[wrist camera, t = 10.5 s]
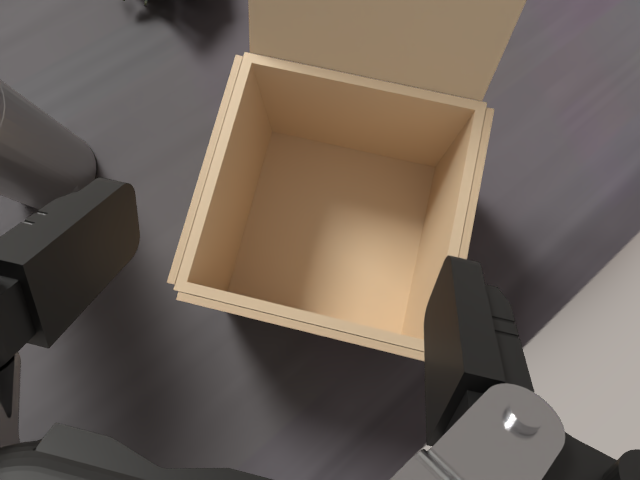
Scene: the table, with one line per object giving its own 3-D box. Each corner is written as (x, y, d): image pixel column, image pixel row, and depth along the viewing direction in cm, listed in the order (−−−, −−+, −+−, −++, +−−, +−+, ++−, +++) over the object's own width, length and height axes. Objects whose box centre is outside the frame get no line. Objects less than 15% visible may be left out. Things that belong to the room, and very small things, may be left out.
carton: (410, 352, 45) (447, 366, 31) (212, 303, 46) (162, 296, 32) (447, 165, 48) (495, 104, 35) (262, 125, 50) (237, 50, 36)
